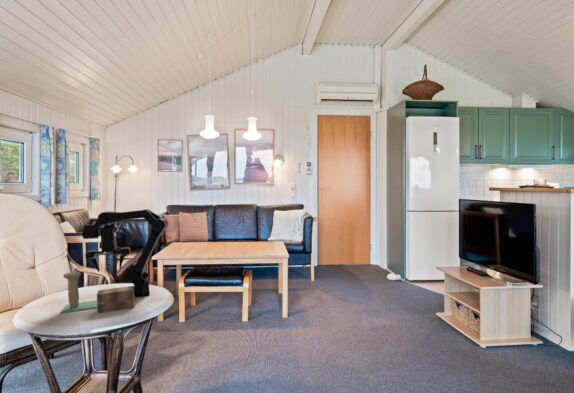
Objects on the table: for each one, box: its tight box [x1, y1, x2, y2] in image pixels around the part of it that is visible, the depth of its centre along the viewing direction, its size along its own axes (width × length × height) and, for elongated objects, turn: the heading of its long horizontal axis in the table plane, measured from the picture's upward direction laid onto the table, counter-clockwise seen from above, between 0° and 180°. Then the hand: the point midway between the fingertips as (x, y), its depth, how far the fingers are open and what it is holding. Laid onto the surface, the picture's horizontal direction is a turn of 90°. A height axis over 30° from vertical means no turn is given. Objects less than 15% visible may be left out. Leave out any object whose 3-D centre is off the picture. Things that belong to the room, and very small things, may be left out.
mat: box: [60, 299, 98, 314], centre depth 156 cm, size 14×10×1 cm
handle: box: [63, 271, 82, 308], centre depth 154 cm, size 5×6×15 cm
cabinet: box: [96, 285, 135, 314], centre depth 152 cm, size 14×8×8 cm, turn 111°
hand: (109, 270), depth 168 cm, fingers open, 9 cm apart
